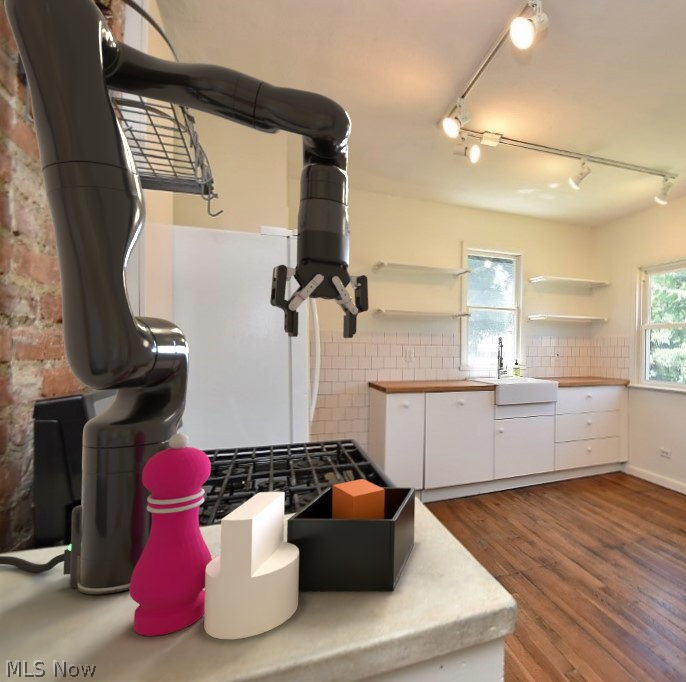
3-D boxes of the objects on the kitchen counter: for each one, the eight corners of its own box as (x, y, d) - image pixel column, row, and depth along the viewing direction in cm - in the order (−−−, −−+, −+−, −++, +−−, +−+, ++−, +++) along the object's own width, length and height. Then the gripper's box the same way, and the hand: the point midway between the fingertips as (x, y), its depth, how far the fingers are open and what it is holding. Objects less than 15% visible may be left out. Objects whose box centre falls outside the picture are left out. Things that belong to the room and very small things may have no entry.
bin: (285, 591, 54) (287, 520, 55) (327, 544, 67) (328, 486, 68) (393, 591, 55) (394, 520, 55) (414, 544, 68) (415, 487, 68)
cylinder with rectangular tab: (279, 636, 46) (282, 519, 46) (184, 642, 45) (187, 521, 45) (309, 589, 55) (311, 490, 55) (230, 592, 54) (233, 492, 54)
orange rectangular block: (351, 574, 57) (353, 496, 57) (331, 557, 62) (332, 484, 62) (383, 563, 60) (384, 489, 61) (361, 548, 65) (362, 478, 65)
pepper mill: (172, 643, 45) (181, 441, 45) (108, 636, 45) (117, 437, 46) (226, 602, 52) (233, 429, 52) (169, 597, 53) (177, 426, 53)
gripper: (356, 245, 78) (354, 338, 78) (266, 229, 68) (264, 336, 68) (377, 238, 73) (375, 338, 73) (283, 220, 63) (280, 336, 63)
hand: (321, 337), depth 70 cm, fingers open, 8 cm apart
